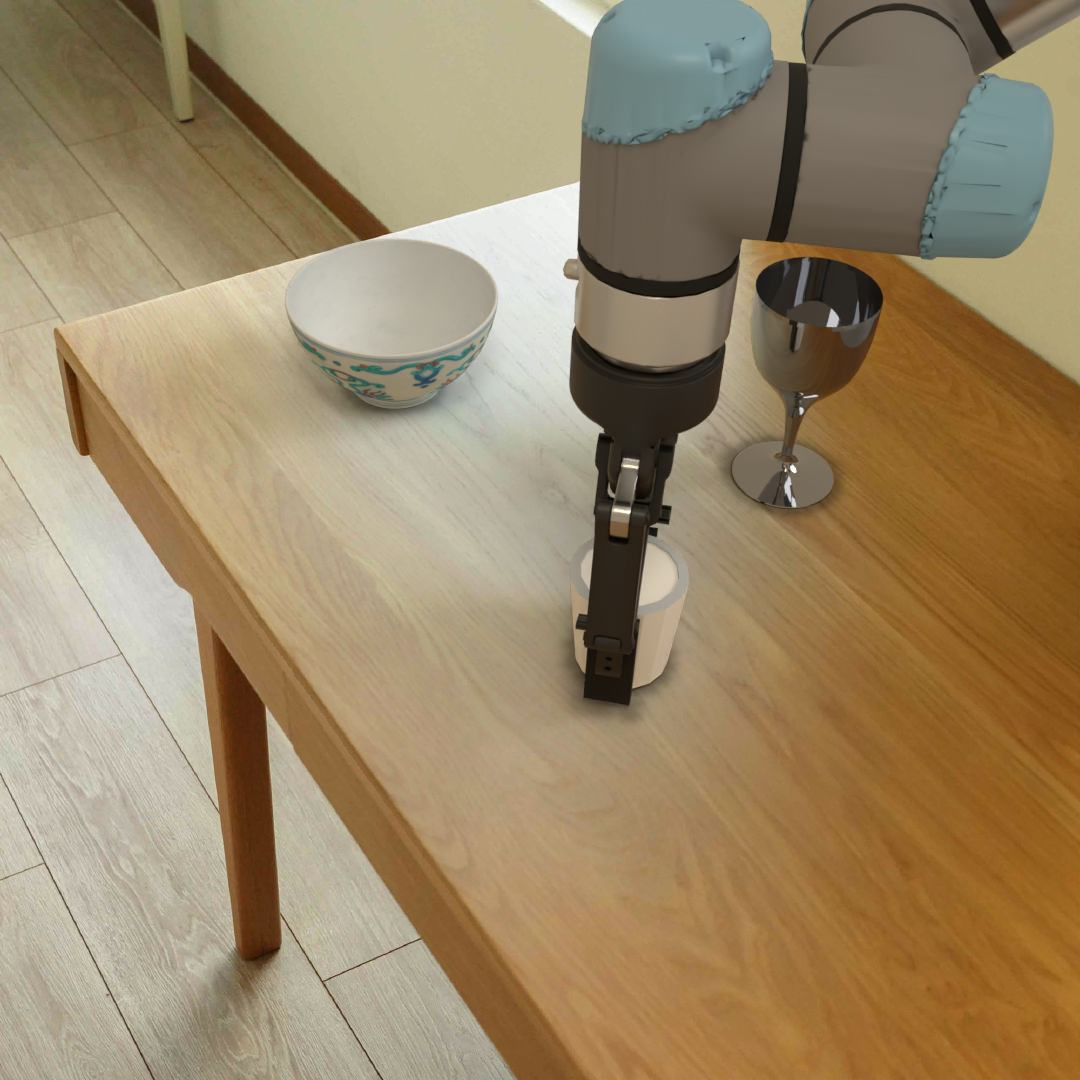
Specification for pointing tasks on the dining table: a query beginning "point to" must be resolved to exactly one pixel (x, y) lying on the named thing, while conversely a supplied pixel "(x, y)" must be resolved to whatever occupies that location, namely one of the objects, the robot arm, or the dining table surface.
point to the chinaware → (392, 317)
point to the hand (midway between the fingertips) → (617, 649)
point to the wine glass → (804, 366)
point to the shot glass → (655, 610)
